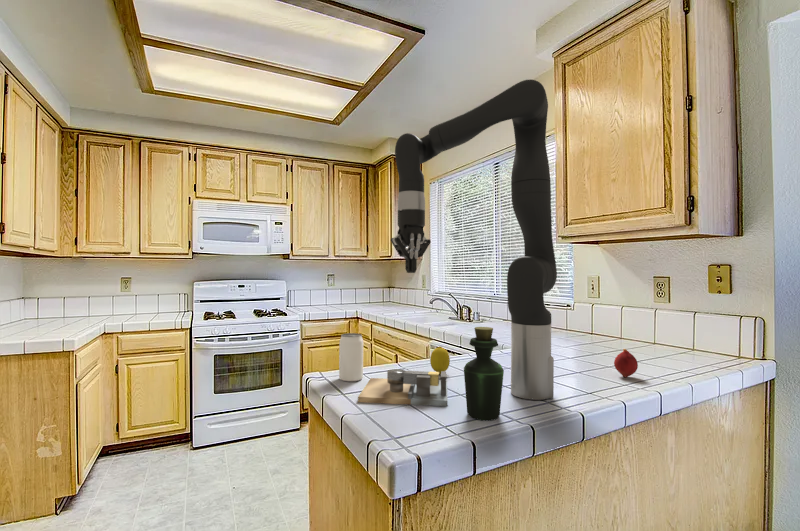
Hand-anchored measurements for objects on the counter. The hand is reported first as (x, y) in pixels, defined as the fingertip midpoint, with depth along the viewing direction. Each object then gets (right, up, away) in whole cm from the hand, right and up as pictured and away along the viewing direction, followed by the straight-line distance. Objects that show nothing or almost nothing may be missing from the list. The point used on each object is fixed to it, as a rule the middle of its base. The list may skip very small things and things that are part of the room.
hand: (410, 272), depth 113 cm
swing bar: (0, -26, -16) cm, 30 cm away
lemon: (+8, -29, +5) cm, 31 cm away
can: (-16, -29, 0) cm, 33 cm away
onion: (+61, -30, +3) cm, 67 cm away
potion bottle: (+14, -29, -28) cm, 43 cm away
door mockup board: (-2, -29, -13) cm, 32 cm away
